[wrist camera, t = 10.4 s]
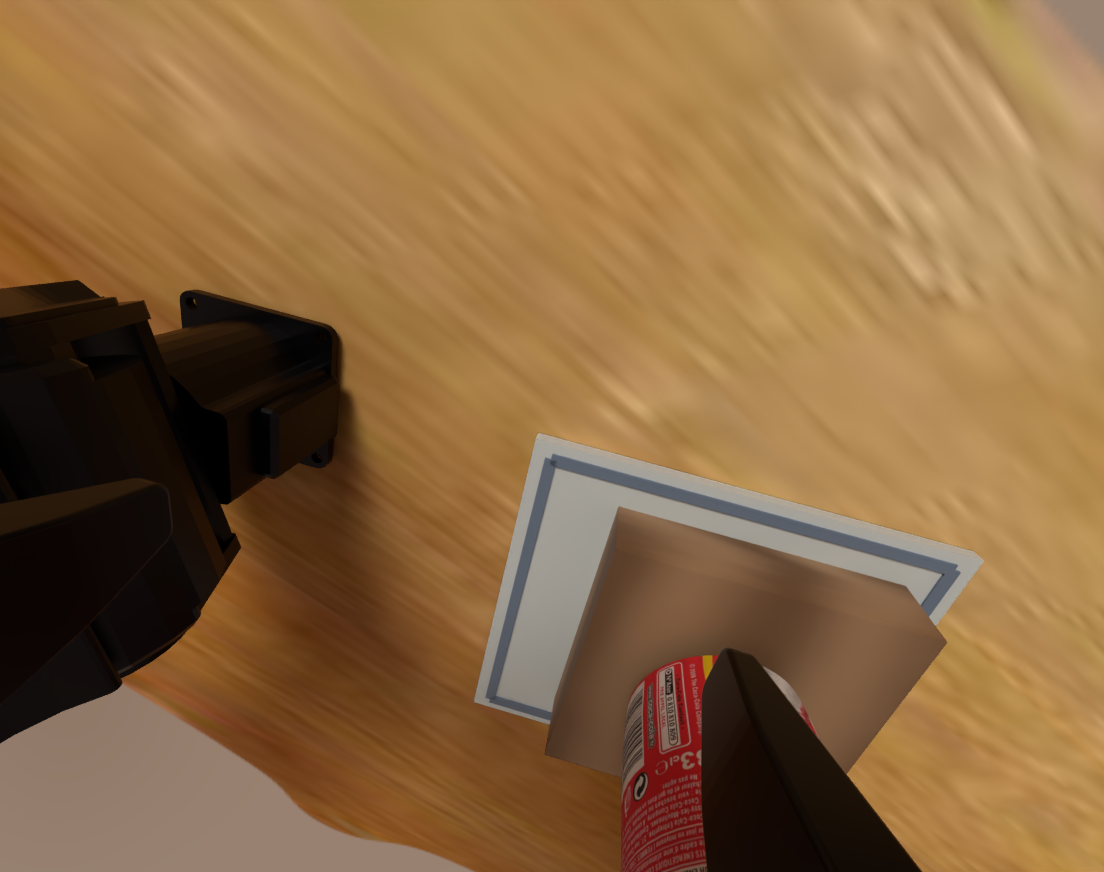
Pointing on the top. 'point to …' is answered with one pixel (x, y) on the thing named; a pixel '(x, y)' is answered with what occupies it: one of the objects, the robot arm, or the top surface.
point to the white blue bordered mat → (614, 480)
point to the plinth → (735, 635)
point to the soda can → (669, 768)
